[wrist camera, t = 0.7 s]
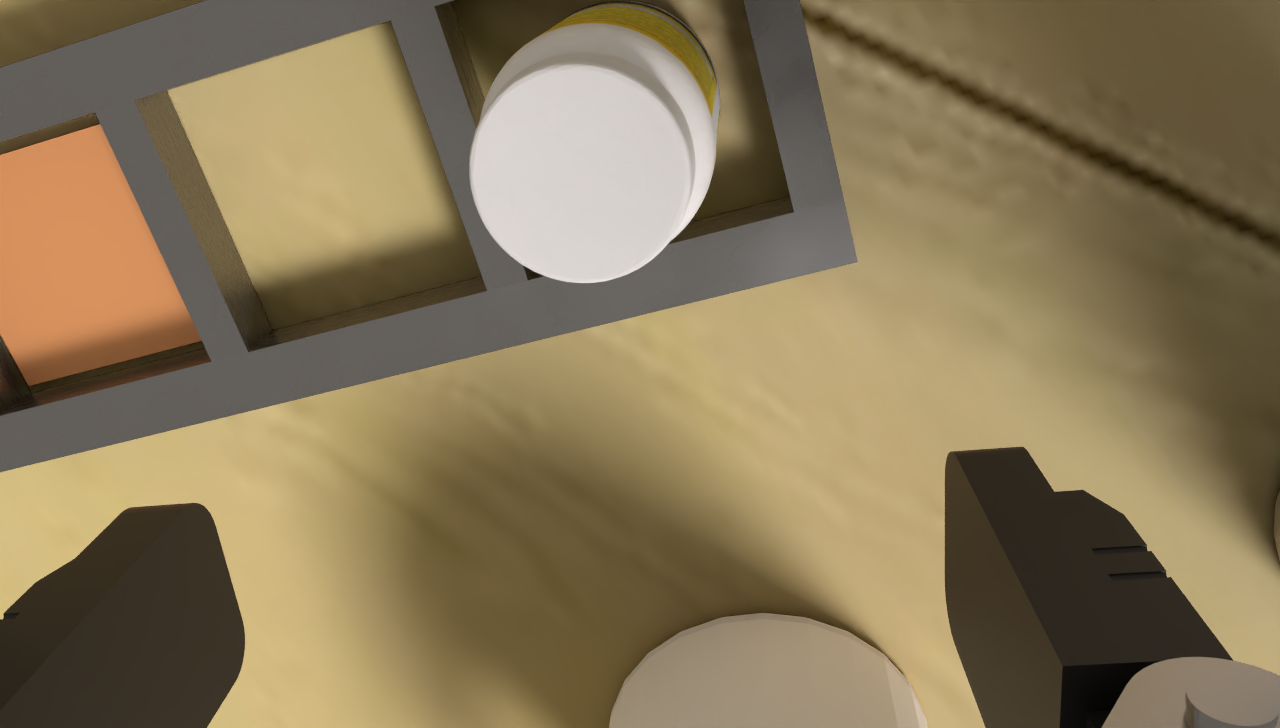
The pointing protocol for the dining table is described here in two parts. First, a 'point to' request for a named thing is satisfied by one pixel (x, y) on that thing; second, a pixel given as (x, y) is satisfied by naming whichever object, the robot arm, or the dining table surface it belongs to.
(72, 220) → the marked hole pad
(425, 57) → the grey flat rectangular frame
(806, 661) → the mug
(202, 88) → the dining table surface
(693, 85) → the supplement bottle
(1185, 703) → the robot arm
